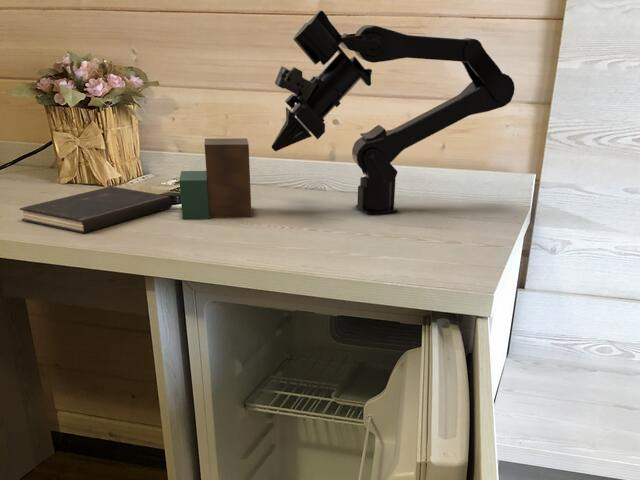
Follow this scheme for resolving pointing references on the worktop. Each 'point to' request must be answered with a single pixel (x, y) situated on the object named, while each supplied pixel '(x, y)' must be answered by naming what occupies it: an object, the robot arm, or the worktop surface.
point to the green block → (194, 195)
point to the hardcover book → (95, 209)
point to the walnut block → (228, 177)
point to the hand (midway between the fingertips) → (273, 149)
